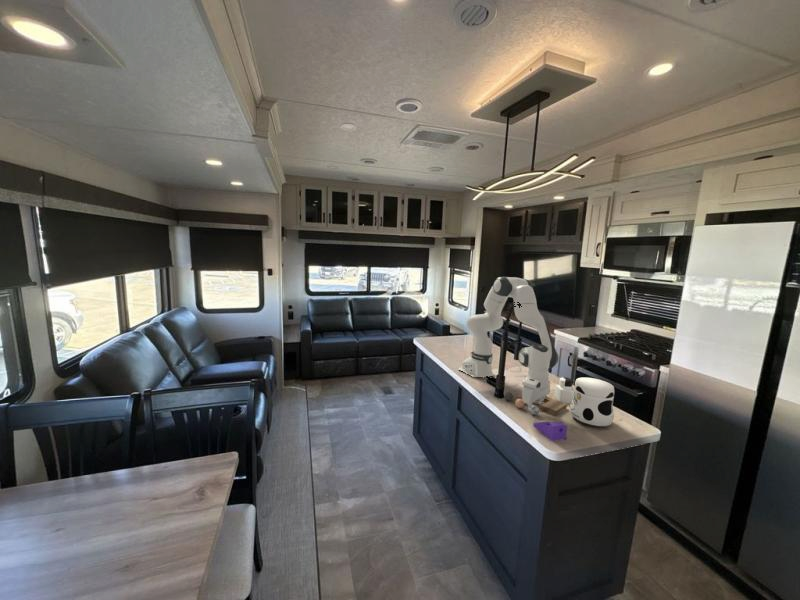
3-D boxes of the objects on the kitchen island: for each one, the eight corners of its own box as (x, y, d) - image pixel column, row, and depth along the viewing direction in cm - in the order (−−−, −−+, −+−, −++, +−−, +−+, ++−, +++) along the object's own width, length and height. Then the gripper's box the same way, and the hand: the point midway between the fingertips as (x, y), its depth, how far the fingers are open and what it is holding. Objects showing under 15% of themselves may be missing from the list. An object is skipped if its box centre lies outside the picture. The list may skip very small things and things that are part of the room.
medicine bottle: (568, 397, 172) (570, 376, 170) (574, 403, 165) (576, 381, 163) (554, 396, 173) (556, 375, 171) (559, 402, 166) (561, 380, 164)
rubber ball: (502, 399, 167) (503, 391, 167) (507, 397, 170) (507, 389, 170) (510, 402, 164) (510, 394, 163) (514, 400, 167) (515, 392, 166)
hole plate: (516, 400, 167) (517, 396, 166) (528, 394, 174) (529, 390, 174) (555, 415, 152) (555, 410, 151) (566, 408, 159) (566, 403, 159)
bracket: (565, 439, 132) (567, 424, 132) (551, 441, 131) (553, 426, 130) (546, 424, 144) (547, 410, 143) (533, 426, 142) (534, 411, 141)
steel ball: (527, 413, 153) (527, 405, 152) (531, 411, 156) (532, 402, 155) (536, 417, 149) (536, 408, 149) (540, 414, 152) (541, 406, 152)
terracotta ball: (513, 407, 159) (513, 398, 159) (517, 404, 162) (518, 396, 162) (521, 410, 156) (522, 401, 155) (526, 407, 159) (526, 399, 158)
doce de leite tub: (561, 411, 156) (565, 376, 153) (594, 411, 158) (598, 376, 155) (585, 431, 139) (589, 392, 136) (622, 430, 140) (627, 391, 138)
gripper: (541, 372, 159) (539, 399, 161) (520, 382, 146) (518, 410, 148) (554, 376, 154) (552, 403, 156) (533, 386, 141) (531, 416, 143)
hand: (535, 407), depth 152 cm, fingers open, 8 cm apart
